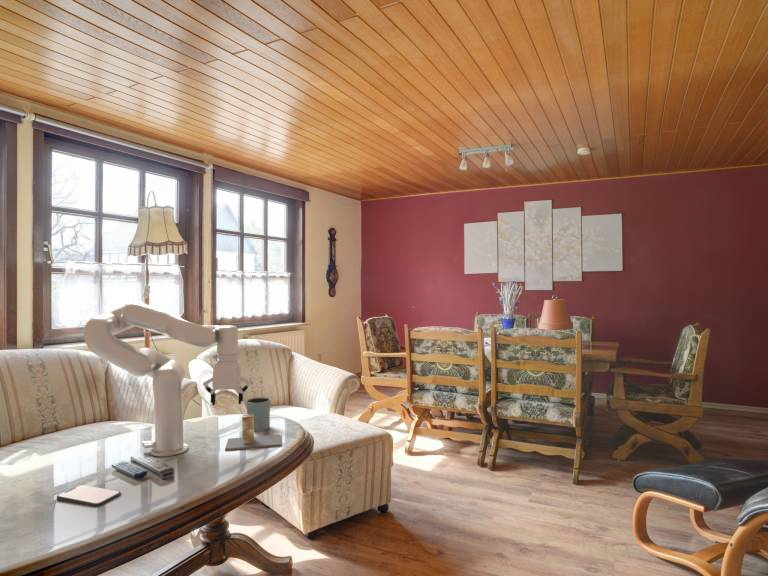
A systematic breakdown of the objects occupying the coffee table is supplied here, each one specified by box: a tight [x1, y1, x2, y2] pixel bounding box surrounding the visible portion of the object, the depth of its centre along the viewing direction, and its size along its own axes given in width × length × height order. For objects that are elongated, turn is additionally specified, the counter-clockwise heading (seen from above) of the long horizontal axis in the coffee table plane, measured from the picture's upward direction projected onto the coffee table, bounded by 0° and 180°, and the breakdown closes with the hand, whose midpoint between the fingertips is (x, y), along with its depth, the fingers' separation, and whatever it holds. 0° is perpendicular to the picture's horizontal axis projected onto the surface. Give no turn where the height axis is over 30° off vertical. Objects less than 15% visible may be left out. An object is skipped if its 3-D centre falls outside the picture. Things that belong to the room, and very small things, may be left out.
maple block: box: [241, 414, 255, 444], centre depth 189 cm, size 4×4×10 cm
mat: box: [224, 434, 282, 452], centre depth 190 cm, size 20×12×1 cm, turn 102°
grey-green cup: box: [245, 396, 272, 432], centre depth 209 cm, size 10×10×12 cm
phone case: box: [56, 484, 122, 508], centre depth 144 cm, size 9×2×16 cm
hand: (226, 403), depth 187 cm, fingers open, 9 cm apart
